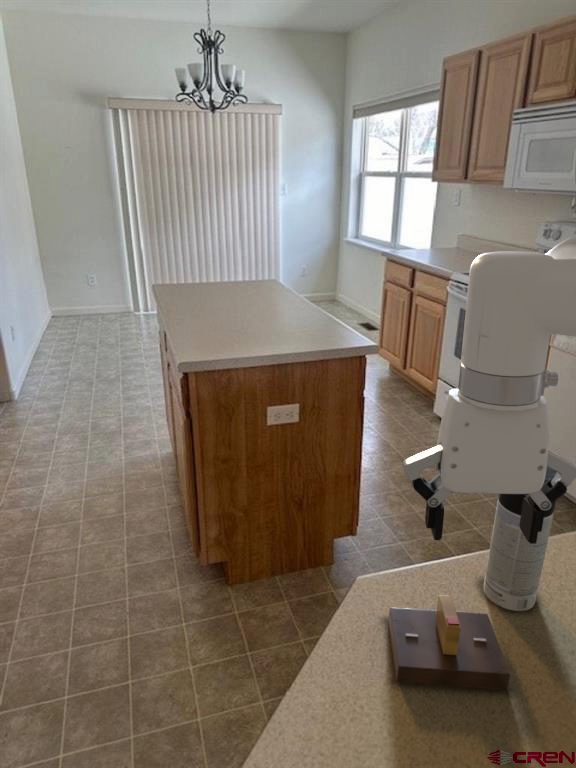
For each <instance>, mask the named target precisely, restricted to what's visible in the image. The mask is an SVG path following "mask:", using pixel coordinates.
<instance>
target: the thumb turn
mask: <svg viewBox="0 0 576 768" xmlns="http://www.w3.org/2000/svg"><path fill="white" fill-rule="evenodd" d="M436 610H437V611H436V619H435V623H436V627H437V630H438V634H439V638H440V642H441V646H442V650H443V654H446V655H457V650H458V643H459V637H460V630H461V626H460V623H459V620H458V616H457V613H456V612H457V610H456V606H455V603H454V601H453V597H452V596H451V595H444V594H438V596H437V605H436Z"/></svg>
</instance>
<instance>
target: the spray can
mask: <svg viewBox="0 0 576 768" xmlns="http://www.w3.org/2000/svg"><path fill="white" fill-rule="evenodd" d="M556 473H557V471H556V470H554V469H552V468H550V467H548V466H547V469H546V475H545V480H544V483H545V482H547V481H548V480H549V479H551V478H552V477H555V474H556ZM525 495H529V494H498V495H497V501H496V510H495V514H494V520H493V527H492V533H491V537H490V545H489V549H488V550H489V551H488V557H487V563H486V569H485V575H484V580H483V591H484V594H485V596H486V597H487V598H488V599H489V600H490V601H491V602H492V603H494V604H495V605H497V606H499V607H501V608H503V609H506V610H509V611H515V612H516V611H517V612H523V611H528V610H530V609H531V608H533V607H534V606H535V604H536V601H537V595H538V590H539V587H540V581H541V577H542V571H543V567H544V562H545V557H546V552H547V547H548V543H549V537H550V533H551V528H552V525H553V519H554V513H555V510H556V509H555V508H556V503H557V499H556V500H555V501H554V502H552V503H551V508H550V509H548V510H545V514H544V520H543V526H542V531H541V532H538V536H537V542H536V544H532V543H529V542H528V541H527V539H526V538H525V536H524V534H523V533H522V531H521V529H520V526H519V525H520V518H521V511H522V505H523V498H525Z"/></svg>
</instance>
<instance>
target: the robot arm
mask: <svg viewBox="0 0 576 768" xmlns="http://www.w3.org/2000/svg"><path fill="white" fill-rule="evenodd" d="M467 283H468V284H467V292H466V293H467V294H466V305H465V314H464V317H465V318H464V326H463V336H462V346H461V354H460V355H461V356H460V365H459V374H458V375H459V376H458V384H457V385H458V386H457V387H458V388H451V390H449V392H448V395H447V397H446V400H445V403H444V406H443V411H442V416H441V421H440V424H439V430H438V431H439V432H438V437H437V441H436V442H437V443H436V446H433V447H431V448H429V449H427V450H424V451H422V452H419V453H416V454H415V455H413V456H410V457H408V458H405V459H404V460H403V461H402V465H403V469H404V472H405V474H406V476H407V478H408V480H409V481H410V483H411V485H412V487H413V490H414V491H415V492H416V493H417V494H419V495H420V497H422V498H423V499H424V500H425V501H426V504H425V516H424V523H425V527H426V529H430V531H431V535H432V536H433V540H434V541H441V540H442V538H443V530H444V529H443V528H444V519H445V507H444V504H443V502H444V501H445V500H446V499H448V497H449V496H451V495H452V494H453V493H454V492H455V493H462V494H493V495H494V494H495V495H499V494H529V495H525V498H523V505H522V511H521V518H520V525H519V526H520V529H521V531H522V533H523V534H524V536H525V538H526V539H527V541H528V542H529V543H532V544H536V542H537V536H538V532H541V531H542V526H543V520H544V514H545V510H548V509H550V508H551V503H552V502H554V501H555V500H556V501H557V500H558V499H559V498H561V497H562V496H564V495H565V494H566V493H567V491H568V487H570V486H571V485H572V483H573V482H574V481H575V480H576V465H575V463H573V462H571V461H569V460H568V459H565V458H563V457H561V456H560V455H558V454H555V453H554V452H552V451H550V450H549V442H550V441H549V440H550V439H549V437H550V436H549V434H550V433H549V431H550V430H549V414H548V405H547V404H548V403H547V399H546V398H545V396H544V393H545V389H546V388H549V387H556V386H558V384H559V375H558V372H555V371H554V372H553V371H552V372H551V371H549V370H547V369H546V365H547V358H548V352H549V347H550V341H551V340H550V339H551V335H558V336H559V335H560V336H566V337H575V338H576V233H575V234H573V235H572V236H570V237H568V238H566V239H565V240H563V241H561V242H560V243H558V244H556V245H555V246H554V247H553V248H551V249H550V250H548V252H546V253H541V252H534V251H522V250H521V251H519V250H518V251H517V250H501V251H500V250H499V251H491V252H485V253H482V254H479V255H478V256H477V257H475V259H474V260H473V261H472V263H471V265H470V268H469V275H468V282H467ZM432 466H435V471H436V472H438V473H437V474H436V475H434V477H433V478H432V479H431V480H429V481H428V480H427V479H426V478H425V477H424V476H423V475H422V473H421V472H422V471H423V470H426V469H427V468H430V467H432ZM547 466H548V467H550V468H552V469H554V470H556V471H557V473H556V474H555V477H552V478H551V479H549V480H548V481H547V482H545V483H544V480H545V475H546V469H547Z"/></svg>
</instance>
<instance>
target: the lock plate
mask: <svg viewBox="0 0 576 768" xmlns="http://www.w3.org/2000/svg"><path fill="white" fill-rule="evenodd" d="M436 611H437V609H436V610H434V609H420V608H406V607H405V608H403V607H402V608H401V607H389V611H388V621H387V622H388V629H389V638H390V643H391V650H392V658H393V666H394V673H395V681H396V682H398V683H411V684H425V685H438V686H453V687H465V688H466V687H467V688H468V687H469V688H481V689H494V690H495V689H496V690H508V688H509V683H510V678H511V672H510V670H509V667H508V665H507V663H506V662H507V661H506V660H505V657H504V655H503V651H502V649H501V646H500V644H499V641H498V639H497V635H496V633H495V631H494V628H493V625H492V623H491V620H490V618H489V615H488V613H484V612H483V613H482V612H469V611H467V612H466V611H456V613H457V616H458V620H459V623H460V626H461V630H460V637H459V643H458V650H457V655H446V654H443V650H442V646H441V642H440V638H439V634H438V630H437V627H436V623H435V619H436Z"/></svg>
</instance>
